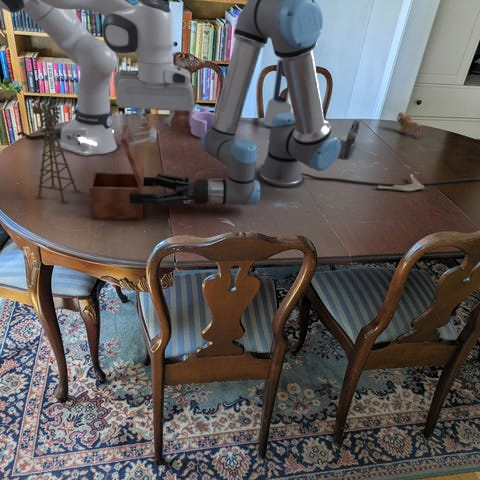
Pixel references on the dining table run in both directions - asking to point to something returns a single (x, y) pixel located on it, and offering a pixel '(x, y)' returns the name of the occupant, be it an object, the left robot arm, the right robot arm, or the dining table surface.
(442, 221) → the dining table surface
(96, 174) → the open box
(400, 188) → the jawbone
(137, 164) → the wooden panel with handle
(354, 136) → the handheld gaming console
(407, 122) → the lion figurine
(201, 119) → the clip
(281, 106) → the electronic device
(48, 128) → the miniature windmill
